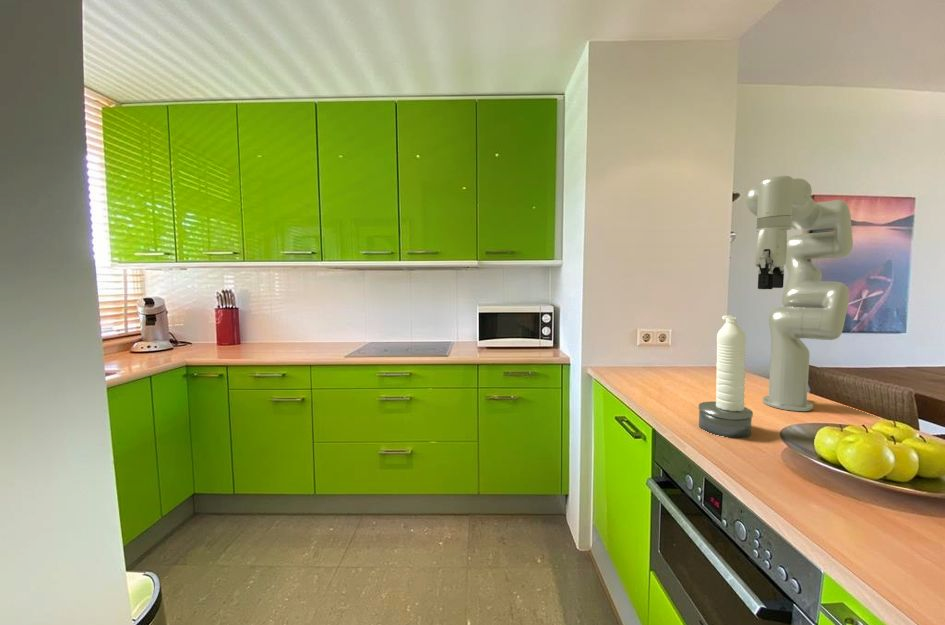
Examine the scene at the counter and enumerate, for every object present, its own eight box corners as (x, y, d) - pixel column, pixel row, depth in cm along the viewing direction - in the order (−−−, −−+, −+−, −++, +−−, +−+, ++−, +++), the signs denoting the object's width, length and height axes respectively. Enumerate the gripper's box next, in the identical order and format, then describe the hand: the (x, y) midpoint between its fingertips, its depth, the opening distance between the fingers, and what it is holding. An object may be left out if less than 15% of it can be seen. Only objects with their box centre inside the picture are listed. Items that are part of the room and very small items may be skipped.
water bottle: (747, 412, 102) (749, 318, 100) (718, 410, 105) (719, 318, 103) (738, 402, 110) (740, 315, 108) (712, 401, 113) (713, 315, 111)
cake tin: (708, 418, 115) (709, 398, 115) (758, 430, 106) (759, 409, 105) (690, 429, 108) (691, 408, 107) (742, 443, 98) (743, 420, 97)
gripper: (766, 228, 113) (763, 287, 114) (746, 224, 102) (743, 289, 103) (799, 225, 107) (796, 287, 108) (782, 220, 96) (778, 289, 98)
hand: (770, 288), depth 106 cm, fingers open, 9 cm apart
